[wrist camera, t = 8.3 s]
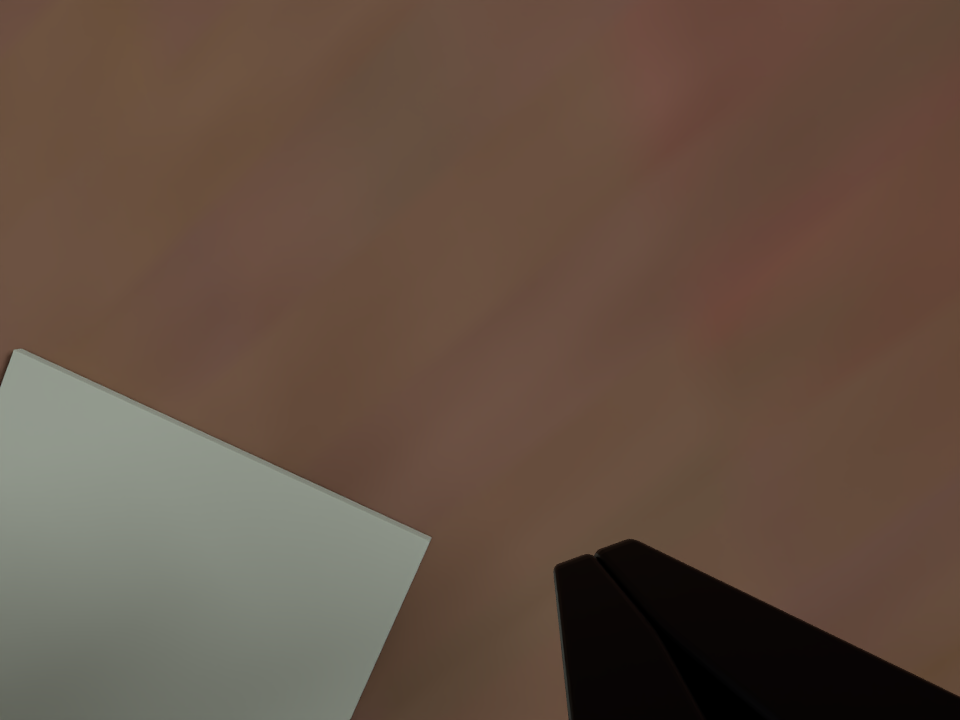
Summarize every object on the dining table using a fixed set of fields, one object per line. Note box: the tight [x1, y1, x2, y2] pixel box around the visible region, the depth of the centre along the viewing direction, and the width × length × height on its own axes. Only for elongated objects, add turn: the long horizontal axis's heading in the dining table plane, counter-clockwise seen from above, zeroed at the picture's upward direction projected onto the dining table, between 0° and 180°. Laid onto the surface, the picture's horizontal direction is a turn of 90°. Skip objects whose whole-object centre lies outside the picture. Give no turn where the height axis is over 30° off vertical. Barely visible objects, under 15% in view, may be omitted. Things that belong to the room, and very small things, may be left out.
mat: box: [0, 349, 432, 720], centre depth 22 cm, size 11×11×1 cm
